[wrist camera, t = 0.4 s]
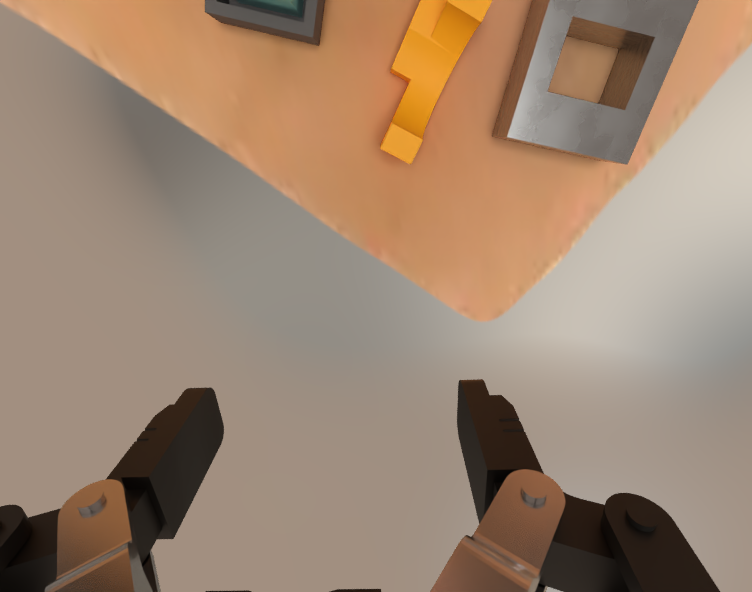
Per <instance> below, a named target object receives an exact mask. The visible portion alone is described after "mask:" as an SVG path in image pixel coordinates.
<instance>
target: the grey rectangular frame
mask: <svg viewBox="0 0 752 592" xmlns="http://www.w3.org/2000/svg"><path fill="white" fill-rule="evenodd" d="M324 3H325V0H304V3H303V12H302V18H300V17H296V16H292V15H288V14H284V13H279V12H275V11H271V10H267V9H263V8H259V7H255V6H250V5H246V4H242V3H238V2H237V1H236V0H205V12H206V13H207V14H209V15H210V16H212V17H213V18H215V19H216V20H218V21H219V22H221V23H226V24H230V25H234V26H238V27H242V28H247V29H251V30H255V31H259V32H263V33H268V34H272V35H276V36H280V37H285V38H289V39H293V40H297V41H301V42H306V43H310V44H314V45H318V46H319V42H320V34H321V26H322V18H323V11H324Z"/></svg>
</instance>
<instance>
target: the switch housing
mask: <svg viewBox="0 0 752 592" xmlns="http://www.w3.org/2000/svg"><path fill="white" fill-rule="evenodd" d="M698 1H699V0H533V1H532V4H531V7H530V11H529V14H528V17H527V21H526V24H525V28H524V31H523V34H522V38H521V41H520V44H519V48H518V51H517V54H516V58H515V61H514V64H513V68H512V71H511V74H510V78H509V81H508V84H507V88H506V91H505V94H504V98H503V101H502V105H501V108H500V111H499V115H498V118H497V121H496V125H495V128H494V131H493V135H492V136H494V137H498V138H502V139H507V140H511V141H516V142H520V143H524V144H529V145H533V146H537V147H542V148H546V149H551V150H555V151H559V152H564V153H568V154H573V155H577V156H581V157H586V158H590V159H594V160H599V161H606V162H613V163H620V164H628V162H629V160H630V157H631V155H632V153H633V150H634V148H635V146H636V144H637V141H638V139H639V137H640V134H641V132H642V130H643V127H644V125H645V123H646V121H647V118H648V116H649V114H650V111H651V109H652V107H653V104H654V102H655V100H656V98H657V95H658V93H659V91H660V88H661V86H662V84H663V81H664V79H665V77H666V75H667V72H668V70H669V68H670V65H671V63H672V61H673V58H674V56H675V54H676V51H677V49H678V47H679V45H680V42H681V40H682V38H683V35H684V33H685V31H686V28H687V26H688V24H689V22H690V19H691V17H692V15H693V12H694V10H695V8H696V5H697V3H698ZM566 36H570V37H574V38H578V39H582V40H586V41H590V42H594V43H598V44H602V45H606V46H610V47H614V48H618V49H620V50H619V53H618V55H617V58H616V60H615V63H614V65H613V68H612V71H611V73H610V76H609V78H608V81H607V84H606V86H605V89H604V91H603V94H602V97H601V99H600V102H599V104H597V103H593V102H589V101H584V100H580V99H576V98H572V97H568V96H563V95H559V94H555V93H551V92H547V91H548V88H549V85H550V82H551V79H552V76H553V73H554V70H555V67H556V65H557V62H558V59H559V56H560V53H561V50H562V47H563V44H564V41H565V38H566Z"/></svg>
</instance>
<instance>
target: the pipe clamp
mask: <svg viewBox="0 0 752 592" xmlns="http://www.w3.org/2000/svg"><path fill="white" fill-rule="evenodd" d="M491 2H492V0H421V1H420V3H419V5H418V7H417V10H416V12H415V14H414V17H413V19H412V21H411V23H410V26H409V28H408V30H407V33H406V35H405V38H404V40H403V42H402V45H401V47H400V49H399V52H398V54H397V56H396V59H395V61H394V63H393V66H392V68H391V73H393V74H395V75H396V76H398V77H400V78H402V79H404V80H405V81H407V82H409V84H408V86H407V88H406V90H405V93H404V95H403V97H402V99H401V101H400V104H399V106H398V108H397V110H396V112H395V114H394V117H393V119H392V121H391V123H390V125H389V128H388V130H387V132H386V134H385V136H384V138H383V141H382V143H381V145H380V149H382V150H384V151H386V152H388V153H389V154H391V155H393V156H395V157H397V158H399V159H401V160H403V161H405V162H407V163H409V164H411V163H412V161H413V159H414V157H415V155H416V153H417V151H418V149H419V147H420V145H421V143H422V141H423V134H424V131H425V128H426V125H427V122H428V120H429V118H430V115H431V113H432V111H433V108H434V106H435V104H436V102H437V100H438V98H439V95H440V93H441V91H442V89H443V87H444V85H445V83H446V81H447V79H448V77H449V75H450V73H451V72H452V70H453V68H454V66H455V64H456V62H457V60H458V58H459V57H460V55H461V53H462V51H463V50H464V48H465V46H466V44H467V43H468V41H469V39H470V38H471V36H472V35H473V33H474V32H475V30H476V29H477V27H478V26H479V24H480V23H481V22H482V20H483V18H484V16H485V14H486V12H487V10H488V8H489V6H490V4H491Z"/></svg>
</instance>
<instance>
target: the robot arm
mask: <svg viewBox="0 0 752 592" xmlns="http://www.w3.org/2000/svg"><path fill="white" fill-rule="evenodd" d="M457 409H458V410H457V427H458V435H459V440H460V444H461V449H462V453H463V457H464V461H465V465H466V470H467V473H468V478H469V482H470V487H471V491H472V495H473V499H474V503H475V508H476V512H477V516H478V520H479V526H478V528H477V530H476V531H475V533H474V535H473V536H472V537H470V536H468V535H466V536H465V537H464V538H463V539H462V540H461V541H460V543H459V544H458V546H457V547H456V549H455V551H454V552H453V554H452V556H451V557H450V559H449V561H448V562H447V564H446V566H445V568H444V569H443V571H442V573H441V574H440V576H439V578H438V579H437V581H436V583H435V585H434V586H433V588H432V589H431V591H430V592H546V590H547V587H551V588H554V589H557V590H560V591H563V592H720V591H719V589H718V588H717V586H716V585H715V583H714V582H713V580H712V579H711V577H710V576H709V574H708V573H707V571H706V569H705V568H704V566H703V565H702V563H701V562H700V560H699V559H698V557H697V556H696V554H695V553H694V551H693V550H692V548H691V547H690V545H689V543H688V542H687V541H686V539H685V537H684V536H683V534H682V533H681V531H680V530H679V528H678V527H677V525H676V524H675V522H674V521H673V519H672V518H671V517H670V516H669V515H668V514H667V512H666V511H664V510H663V509H662V508H661V507H660V506H658V505H656V504H655V503H654V502H652V501H650V500H648V499H646V498H644V497H642V496H639V495H635V494H630V493H618V494H614V495H612V496H611V497H609V498H608V499H607V501H606V503H605V505H603V504H599V503H595V502H591V501H587V500H583V499H579V498H576V497H573V496H570V495H568V494H566V493H564V492H563V491H562V489H561V488H560V486H559V485H558V484H557V483H556V482H555V481H554V480H553V479H551V478H550V477H548V476H547V475H545V474H544V473H543V471H542V469H541V466H540V464H539V462H538V460H537V458H536V455H535V453H534V451H533V449H532V447H531V444H530V442H529V440H528V438H527V435H526V433H525V432H524V429H523V427H522V424H521V422H520V421H519V418H518V416H517V413H516V411H515V409H514V407H513V405H512V404H510V403H509V402H508V401H507V400H506V399H505V398H504V397H503V396H502V395H489V393H488V390H487V388H486V385H485V382H484V381H483V380H482V379H481V380H460V381H459V386H458V408H457ZM223 434H224V426H223V421H222V417H221V413H220V410H219V406H218V402H217V399H216V395H215V392H214V390H213V389H212V388H188V389H186V390H185V391H184V392H183V393H182V395H181V396H180V397H179V399H178V400H177V402H176V403H175V404H174V405H169V406H167V407H166V408H165V409H163V410H162V411H161V412H159V413H158V414H157V415H155V417H154V418H153V419H152V420H151V422H150V423H149V424H148V425H147V427H146V428H145V431H143V432H142V433H141V435H140V436H139V437H138V438H137V442H134V444H133V445H132V446H131V447H130V449H129V450H128V451H127V453H126V454H125V455H124V457H123V458H122V459H121V460H120V462H119V463H118V464H117V466H116V467H115V468H114V469H113V471H112V472H111V473H110V475H109V476H108V477H107V479H106V480H101V481H98V482H95V483H92V484H90V485H88V486H86V487H84V488H83V489H81V490H79V491H78V492H76V493H75V494H74V495H73V496H71V497H70V498H69V499H68V500H67V501H66V502H65V504H64V505H63V506H62V508H61V509H57V510H54V511H50V512H47V513H43V514H40V515H36V516H32V517H29V518H28V517H27V516H26V514H25V512H24V511H23V509H22V508H21V507H19V506H17V505H5V506H1V507H0V592H161V590H160V585H159V580H158V575H157V571H156V566H155V561H154V556H153V554H152V551H151V549H152V547H153V545H154V543H155V541H156V539H173V538H174V537H175V535H176V533H177V531H178V529H179V527H180V525H181V523H182V521H183V519H184V517H185V515H186V513H187V511H188V509H189V507H190V505H191V503H192V501H193V499H194V497H195V495H196V493H197V491H198V489H199V487H200V485H201V483H202V481H203V479H204V477H205V475H206V473H207V471H208V469H209V467H210V465H211V463H212V461H213V459H214V457H215V455H216V453H217V451H218V449H219V447H220V445H221V443H222V439H223ZM206 592H251V591H206ZM331 592H381V589H341V590H340V589H339V590H334V591H331Z"/></svg>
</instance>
